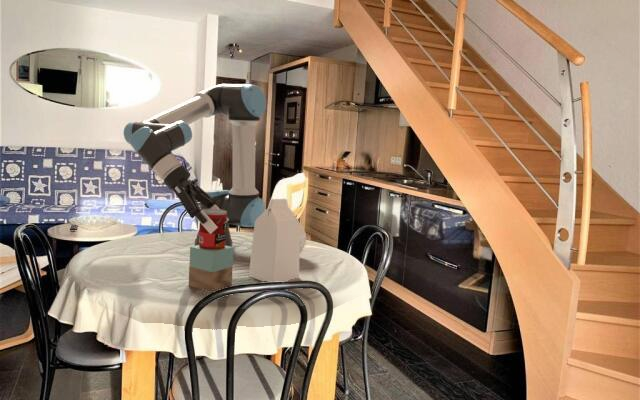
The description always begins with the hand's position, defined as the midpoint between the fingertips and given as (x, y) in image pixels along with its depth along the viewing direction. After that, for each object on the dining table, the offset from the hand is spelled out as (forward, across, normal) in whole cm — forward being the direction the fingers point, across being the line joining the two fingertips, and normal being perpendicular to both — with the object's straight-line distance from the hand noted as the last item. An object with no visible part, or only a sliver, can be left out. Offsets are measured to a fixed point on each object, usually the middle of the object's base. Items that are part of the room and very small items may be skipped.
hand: (220, 226), depth 144 cm
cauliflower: (+23, -39, -3) cm, 45 cm away
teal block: (+7, 0, -10) cm, 12 cm away
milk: (+24, -14, -2) cm, 28 cm away
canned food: (+3, 0, -6) cm, 7 cm away
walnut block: (+11, 0, -14) cm, 18 cm away
